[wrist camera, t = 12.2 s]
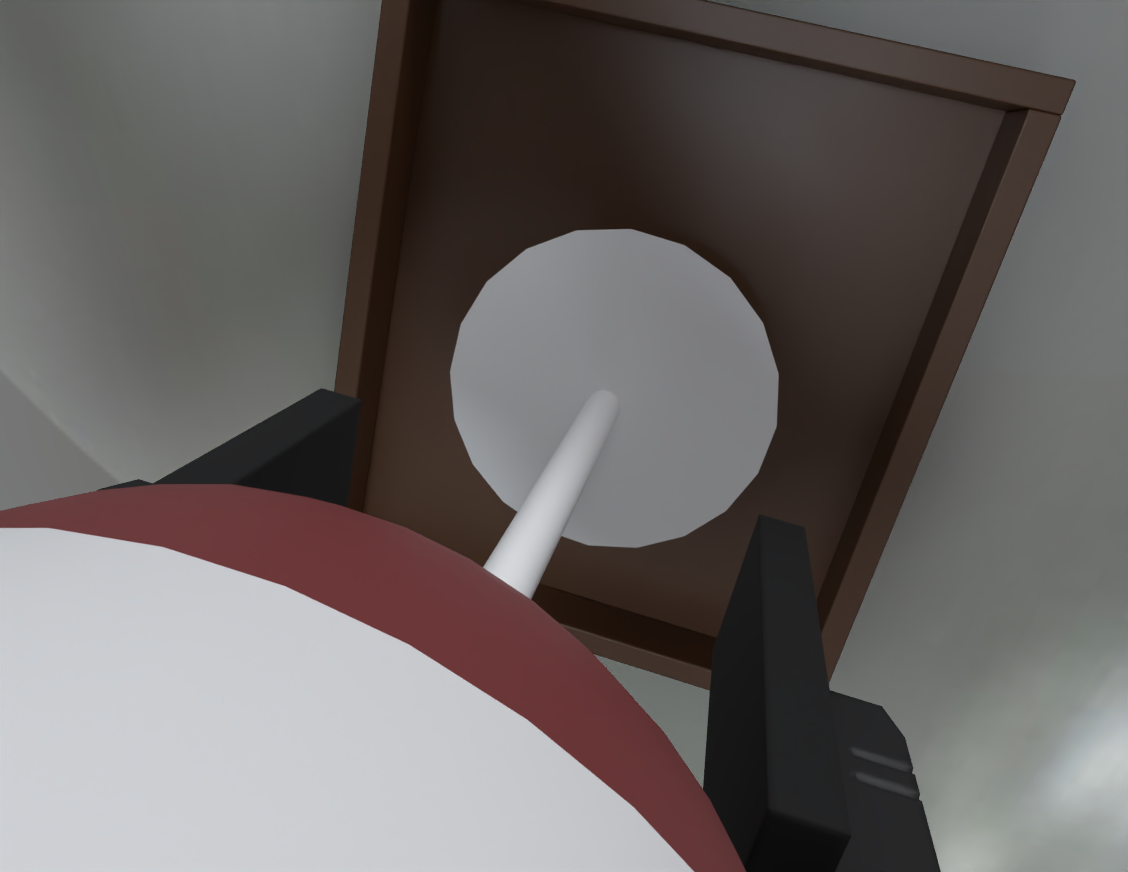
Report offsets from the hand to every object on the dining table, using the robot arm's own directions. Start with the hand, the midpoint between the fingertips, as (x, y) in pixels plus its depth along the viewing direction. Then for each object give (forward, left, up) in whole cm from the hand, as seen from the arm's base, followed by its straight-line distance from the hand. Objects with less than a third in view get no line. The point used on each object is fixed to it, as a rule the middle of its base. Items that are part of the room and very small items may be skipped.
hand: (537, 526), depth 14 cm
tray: (0, 0, -13) cm, 13 cm away
